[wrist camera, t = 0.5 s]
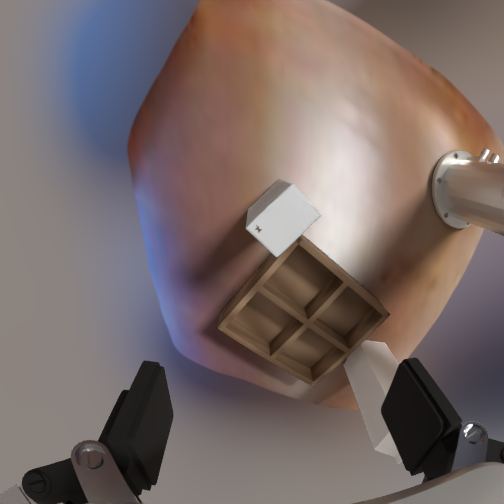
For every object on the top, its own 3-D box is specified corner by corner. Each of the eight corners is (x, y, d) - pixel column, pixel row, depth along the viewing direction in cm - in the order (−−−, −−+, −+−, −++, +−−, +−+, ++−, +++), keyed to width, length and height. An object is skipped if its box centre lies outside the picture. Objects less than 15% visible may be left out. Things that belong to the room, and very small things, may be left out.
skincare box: (269, 231, 38) (275, 260, 27) (247, 209, 37) (243, 228, 26) (302, 200, 37) (323, 215, 25) (280, 177, 36) (291, 181, 25)
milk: (342, 365, 45) (378, 468, 24) (356, 337, 43) (405, 440, 22) (371, 368, 45) (413, 463, 24) (385, 341, 43) (441, 435, 22)
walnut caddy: (293, 227, 38) (297, 235, 34) (379, 301, 41) (390, 314, 37) (220, 312, 42) (216, 327, 37) (309, 369, 45) (313, 386, 41)
